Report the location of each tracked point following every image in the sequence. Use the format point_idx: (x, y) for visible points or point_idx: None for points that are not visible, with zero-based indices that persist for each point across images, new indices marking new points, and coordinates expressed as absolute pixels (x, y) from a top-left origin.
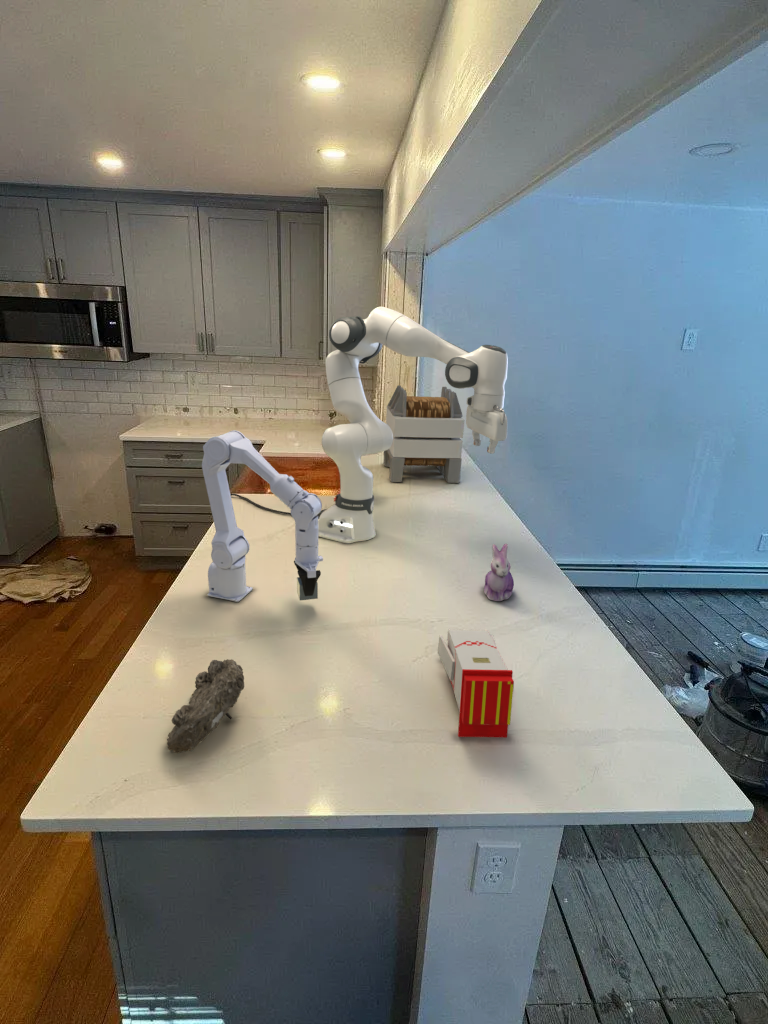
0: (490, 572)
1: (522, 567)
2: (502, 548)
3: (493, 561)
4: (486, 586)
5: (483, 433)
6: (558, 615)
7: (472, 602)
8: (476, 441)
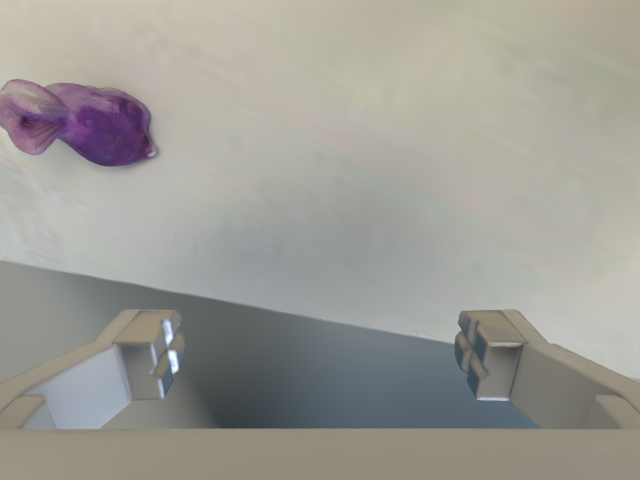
0: (94, 105)
1: (247, 248)
2: (19, 129)
3: (16, 88)
4: (108, 93)
5: (141, 456)
6: (22, 208)
7: (72, 35)
8: (480, 345)
